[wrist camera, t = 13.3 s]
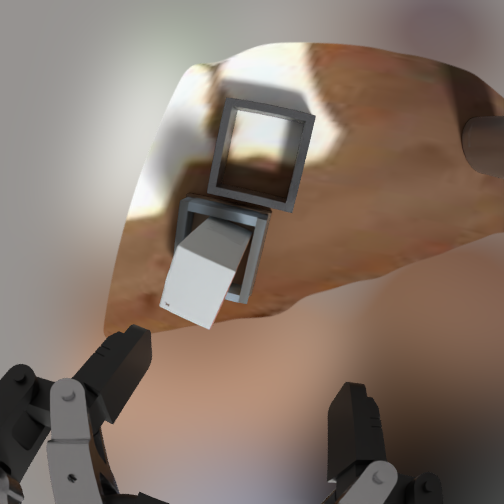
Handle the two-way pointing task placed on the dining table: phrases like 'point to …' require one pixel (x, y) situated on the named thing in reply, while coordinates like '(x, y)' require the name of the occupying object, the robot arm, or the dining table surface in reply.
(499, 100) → the dining table surface
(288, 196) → the socket
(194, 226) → the frame
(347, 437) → the robot arm
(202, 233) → the small box
